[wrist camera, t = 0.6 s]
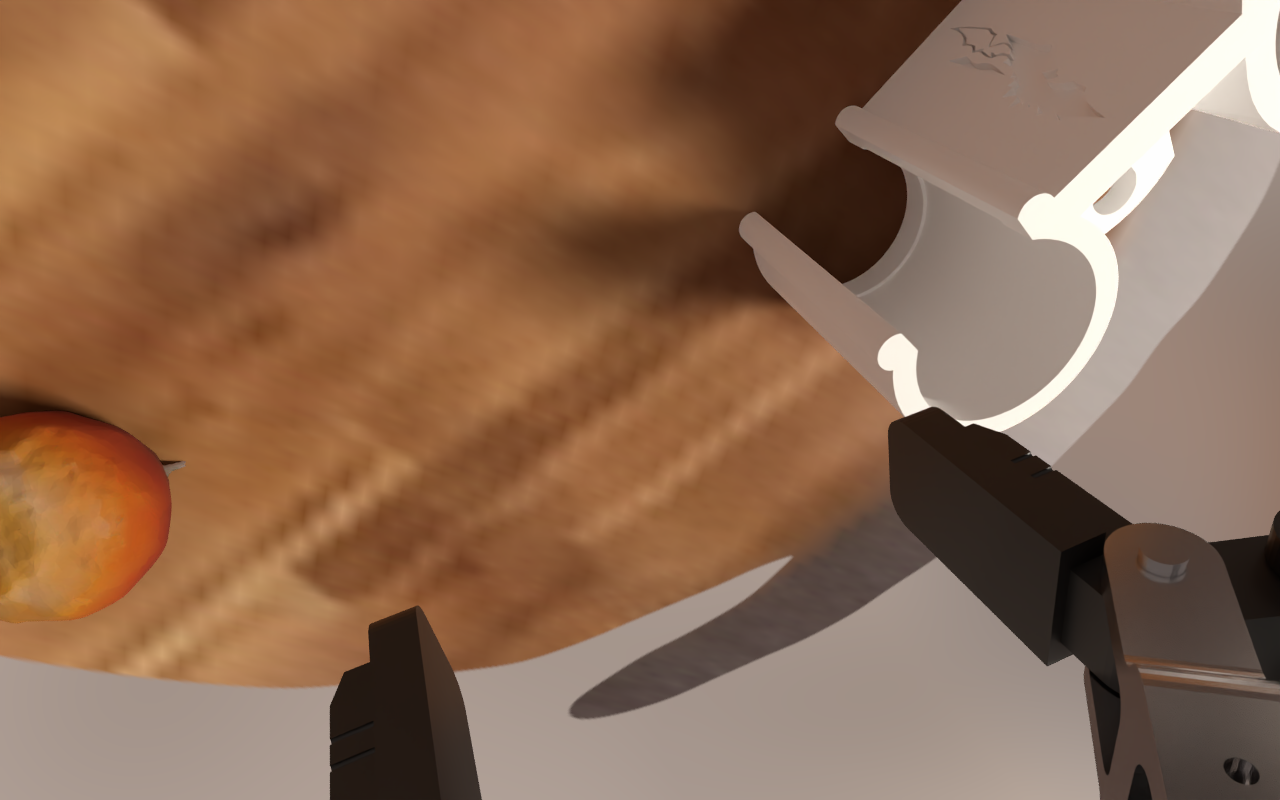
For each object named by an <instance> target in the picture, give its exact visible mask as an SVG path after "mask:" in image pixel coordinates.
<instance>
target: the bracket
mask: <svg viewBox="0 0 1280 800" xmlns="http://www.w3.org/2000/svg"><path fill="white" fill-rule="evenodd" d="M1191 109H1193V110H1197V111H1200V112H1204V113H1208V114H1211V115H1215V116H1218V117H1222V118H1226V119H1229V120H1233V121H1236V122H1240V123H1243V124H1247V125H1251V126H1254V127H1258V128H1261V129H1265V130H1269V131H1272V132H1276V133H1279V134H1280V0H962V1H961V2H960V3H959V4H958V5H957V6H956V7H955V8H954V9H953V10H952V11H951V12H950V14H949V15H948V16H947V17H946V18H945V19H944V20H943V21H942V22H941V23H940V24H939V25H938V27H937V28H936V29H935V30H934V31H933V32H932V33H931V34H930V35H929V36H928V37H927V39H926V40H925V41H924V42H923V43H922V44H921V45H920V46H919V47H918V48H917V49H916V50H915V52H914V53H913V54H912V55H911V56H910V57H909V58H908V59H907V60H906V61H905V62H904V63H903V65H902V66H901V67H900V68H899V69H898V70H897V71H896V72H895V73H894V74H893V75H892V76H891V78H890V79H889V80H888V81H887V82H886V83H885V84H884V85H883V86H882V87H881V88H880V90H879V91H878V92H877V93H876V94H875V95H874V96H873V97H872V98H871V99H870V100H869V101H868V103H867V104H866V105H865V106H864V107H863V108H860V107H858V106H848V107H846V108H844V109H843V110H842V111H841V112H840V113H839V115H838V116H837V119H836V122H835V125H836V127H837V128H838V129H839V130H840V131H841V133H842V134H843V135H844V136H845V137H846V139H847V140H848V141H849V142H851V143H853V144H854V145H856V146H858V147H860V148H862V149H864V150H867V149H868V150H869V151H871V152H873V153H875V154H877V155H879V156H881V157H883V158H884V159H886V160H888V161H890V162H892V163H894V164H896V165H898V166H900V167H901V169H902V171H903V174H904V177H905V180H906V186H907V205H906V211H905V216H904V219H903V222H902V225H901V228H900V230H899V232H898V234H897V236H896V238H895V240H894V242H893V243H892V245H891V246H890V248H889V249H888V250H887V252H886V253H885V254H884V255H883V257H882V258H881V259H880V260H879V261H878V262H877V263H876V264H875V265H874V266H872V267H871V268H870V269H869V270H867V271H866V272H865V273H863V274H862V275H860V276H858V277H857V278H855V279H853V280H851V281H849V282H846V283H844V284H841V283H840V282H839V281H838V280H837V279H836V278H834V277H833V276H832V275H831V274H830V273H828V272H827V271H826V270H825V269H824V268H822V267H821V266H820V265H819V264H818V263H816V262H815V261H814V260H813V259H812V258H810V257H809V256H808V255H807V254H806V253H804V252H803V251H802V250H801V249H800V248H798V247H797V246H796V245H795V244H794V243H792V242H791V241H790V240H789V239H788V238H786V237H785V236H784V235H783V234H782V233H780V232H779V231H778V230H777V229H776V228H774V227H773V226H772V225H771V224H770V223H768V222H767V221H766V220H765V219H764V218H762V217H761V216H760V215H759V214H758V213H756V212H751V213H749V214H747V215H746V216H745V217H744V218H743V219H742V221H741V223H740V226H739V233H740V236H741V237H742V238H743V239H744V240H745V241H746V242H747V243H748V244H749V245H750V246H751V247H752V248H753V250H754V256H755V259H756V262H757V265H758V267H759V270H760V272H761V273H762V275H763V277H764V278H765V279H766V281H767V282H768V283H769V284H770V285H771V286H772V288H773V289H774V290H776V291H777V292H778V293H779V294H780V295H781V296H782V297H783V298H784V299H785V300H786V301H787V302H788V303H789V304H790V305H791V306H792V307H793V308H794V309H795V310H796V311H797V312H798V313H799V314H800V315H801V316H802V317H803V318H804V319H805V320H806V321H807V322H808V323H809V324H810V325H811V326H812V327H813V328H814V329H815V330H816V331H817V332H818V333H819V334H820V335H821V336H822V337H823V338H824V339H825V340H826V341H827V342H828V343H830V344H831V345H832V346H833V347H834V348H835V349H836V350H837V351H838V352H839V353H840V354H841V355H842V356H843V357H844V358H845V359H846V360H847V361H848V362H849V363H850V364H851V365H852V366H853V367H854V368H855V369H856V370H857V371H858V372H859V373H860V374H861V375H862V376H863V377H864V378H865V379H866V380H867V381H868V382H869V383H870V384H871V385H872V386H873V387H874V388H875V389H876V390H877V391H878V392H879V393H880V394H881V395H882V396H883V397H885V398H886V399H887V400H888V401H889V402H890V403H891V404H892V405H893V406H894V407H895V408H896V409H897V410H898V411H899V412H900V413H901V414H902V415H903V416H904V417H906V416H909V415H911V414H914V413H916V412H919V411H922V410H924V409H927V408H929V407H938V408H940V409H941V410H943V411H944V412H946V413H947V414H948V415H950V416H951V417H953V418H954V419H955V420H957V421H958V422H959V423H961V424H962V425H963V426H968V425H970V424H973V423H974V424H977V425H980V426H983V427H986V428H989V429H992V430H995V431H998V432H1001V431H1003V430H1005V429H1008V428H1010V427H1012V426H1014V425H1016V424H1018V423H1020V422H1021V421H1023V420H1025V419H1027V418H1028V417H1030V416H1031V415H1033V414H1034V413H1036V412H1037V411H1039V410H1040V409H1041V408H1043V407H1044V406H1045V405H1047V404H1048V403H1049V402H1050V401H1052V400H1053V399H1054V398H1055V397H1056V396H1057V395H1058V394H1060V393H1061V392H1062V391H1063V390H1064V389H1065V388H1066V387H1067V386H1068V385H1069V384H1070V382H1071V381H1072V380H1073V379H1074V378H1075V377H1076V376H1077V375H1078V373H1079V372H1080V371H1081V370H1082V369H1083V367H1084V366H1085V364H1086V363H1087V362H1088V360H1089V359H1090V357H1091V356H1092V354H1093V353H1094V351H1095V350H1096V348H1097V346H1098V344H1099V343H1100V341H1101V339H1102V337H1103V335H1104V333H1105V331H1106V329H1107V326H1108V324H1109V321H1110V319H1111V316H1112V313H1113V310H1114V306H1115V302H1116V297H1117V290H1118V265H1117V260H1116V256H1115V253H1114V250H1113V247H1112V245H1111V243H1110V241H1109V240H1108V238H1107V237H1106V235H1105V233H1107V232H1108V231H1109V230H1110V229H1112V228H1113V227H1114V226H1115V225H1117V224H1118V223H1119V222H1120V221H1121V220H1122V219H1124V218H1125V217H1126V216H1127V215H1128V214H1129V213H1130V212H1131V211H1132V210H1133V209H1134V208H1135V207H1136V206H1137V205H1138V204H1139V203H1140V202H1141V201H1142V200H1143V198H1144V197H1145V196H1146V195H1147V194H1148V193H1149V192H1150V190H1151V189H1152V188H1153V186H1154V185H1155V184H1156V183H1157V181H1158V180H1159V179H1160V177H1161V176H1162V174H1163V173H1164V171H1165V170H1166V169H1167V167H1168V165H1169V164H1170V162H1171V161H1172V159H1173V157H1174V156H1175V155H1174V151H1173V147H1172V142H1171V138H1170V133H1169V130H1170V129H1171V128H1172V127H1173V126H1174V125H1175V124H1176V123H1177V122H1178V121H1180V120H1181V119H1182V118H1183V117H1184V116H1185V115H1186V114H1187V113H1188V112H1189V111H1190V110H1191ZM1111 186H1112V187H1111ZM1110 187H1111V189H1110V190H1109V192H1108V193H1107V194H1106V195H1105V196H1104V197H1103V198H1102V199H1101V200H1100V201H1098V202H1097V203H1095V204H1093V203H1094V202H1095V201H1096V200H1097V199H1098V198H1099V197H1100V196H1102V195H1103V194H1104V193H1105V192H1106V191H1107V190H1108V189H1109V188H1110Z"/></svg>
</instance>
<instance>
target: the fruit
mask: <svg viewBox="0 0 1280 800" xmlns="http://www.w3.org/2000/svg"><path fill="white" fill-rule="evenodd" d="M184 464H185V461H181V462H178V463H173V464H167V465H162V463H161V462H160V460H159V458H158V457H157V455H156V454H155V453H154V452H153V451H152V450H150V449H149V448H148V447H147V446H145V445H144V444H143V443H141V442H140V441H139V440H138V439H136V438H135V437H134V436H132V435H131V434H129V433H128V432H126V431H124V430H122V429H120V428H118V427H116V426H114V425H111V424H108V423H104V422H101V421H98V420H94V419H90V418H86V417H83V416H80V415H77V414H74V413H71V412H66V411H40V412H26V413H19V414H15V415H11V416H5V417H0V620H1V621H5V622H9V623H21V622H26V621H62V620H74V619H79V618H83V617H86V616H88V615H90V614H93V613H95V612H97V611H99V610H101V609H103V608H105V607H107V606H109V605H111V604H113V603H115V602H116V601H118V600H119V599H121V598H122V597H124V596H125V595H126V594H127V593H128V592H129V591H130V590H131V589H132V588H133V587H134V586H135V584H136V583H137V582H138V581H139V580H140V579H141V578H142V577H143V576H144V575H145V574H146V572H147V571H148V570H149V569H150V568H151V567H152V566H153V564H154V563H155V562H156V560H157V559H158V558H159V556H160V555H161V553H162V552H163V550H164V548H165V546H166V543H167V539H168V534H169V527H170V519H171V495H170V488H169V480H168V476H169V474H170V473H171V472H172V471H174V470H176V469H179V468H182V467H185V466H186V465H184Z"/></svg>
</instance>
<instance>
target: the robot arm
mask: <svg viewBox="0 0 1280 800" xmlns="http://www.w3.org/2000/svg"><path fill="white" fill-rule="evenodd" d="M888 444H889V471H890V493H891V498H892V502H893V505H894V507H895V510H896V512H897V514H898V516H899V517H900V519H901V520H902V522H903V523H904V525H905V526H906V527H907V528H908V529H909V530H910V531H911V532H912V533H913V534H914V535H915V536H916V537H917V538H918V539H919V540H920V541H921V542H922V543H923V544H924V545H925V546H926V547H927V548H928V549H929V550H930V551H931V552H932V553H933V554H934V555H935V556H936V557H937V558H938V559H939V560H940V561H941V562H942V563H943V564H944V565H945V566H946V567H947V568H948V569H950V570H951V572H952V573H953V574H955V576H957V578H958V579H960V581H962V582H963V583H964V584H965V585H966V586H967V587H968V588H969V589H970V590H971V591H972V592H973V593H974V594H975V595H976V596H977V597H978V598H979V599H980V600H981V601H982V602H983V603H984V604H985V605H986V606H987V607H988V608H989V609H990V610H991V611H992V612H993V613H994V614H995V615H996V616H997V617H998V618H999V619H1000V620H1001V621H1002V622H1003V623H1004V624H1005V625H1006V626H1007V627H1008V628H1009V629H1010V630H1011V631H1012V632H1013V633H1014V634H1015V635H1016V636H1017V637H1018V638H1019V639H1020V640H1021V641H1022V642H1023V643H1024V644H1025V645H1026V646H1027V647H1028V648H1029V649H1030V650H1031V651H1032V652H1033V653H1034V654H1035V655H1036V656H1037V657H1038V658H1039V659H1040V660H1041V661H1042V662H1043V663H1044V664H1045V665H1046V666H1049V665H1051V664H1054V663H1056V662H1058V661H1060V660H1062V659H1064V658H1066V657H1068V656H1071V655H1073V654H1074V655H1075V656H1076V657H1077V658H1078V659H1079V660H1080V661H1081V662H1082V663H1083V664H1084V665H1085V669H1084V686H1085V692H1086V700H1087V706H1088V713H1089V720H1090V727H1091V734H1092V741H1093V747H1094V755H1095V761H1096V769H1097V776H1098V782H1099V791H1100V800H1280V511H1279V512H1278V513H1277V514H1276V516H1275V518H1274V521H1273V524H1272V528H1271V531H1270V534H1269V535H1265V536H1257V537H1250V538H1242V539H1235V540H1227V541H1218V542H1207V541H1205V540H1204V539H1202V538H1201V537H1199V536H1197V535H1195V534H1193V533H1191V532H1189V531H1186V530H1184V529H1181V528H1178V527H1175V526H1170V525H1166V524H1159V523H1158V524H1157V523H1137V524H1132V523H1130V522H1129V521H1127V520H1126V519H1125V518H1123V517H1122V516H1120V515H1119V514H1117V513H1116V512H1115V511H1113V510H1112V509H1110V508H1109V507H1108V506H1106V505H1105V504H1103V503H1102V502H1101V501H1099V500H1098V499H1096V498H1095V497H1094V496H1092V495H1091V494H1089V493H1088V492H1086V491H1085V490H1084V489H1082V488H1081V487H1079V486H1078V485H1077V484H1075V483H1074V482H1072V481H1071V480H1070V479H1068V478H1067V477H1065V476H1064V475H1063V474H1061V473H1060V472H1058V471H1057V470H1055V471H1053V470H1052V468H1051V466H1050V465H1048V464H1047V463H1046V462H1044V461H1043V460H1041V459H1040V458H1039V457H1037V456H1032V455H1031V452H1030V451H1029V450H1027V449H1026V448H1024V447H1023V446H1022V445H1020V444H1019V443H1017V442H1016V441H1015V440H1013V439H1012V438H1010V437H1009V436H1008V435H1006V434H1003V433H1000V432H998V431H995V430H992V429H989V428H986V427H983V426H980V425H977V424H974V423H973V424H970V425H968V426H963V425H962V424H961V423H959V422H958V421H957V420H955V419H954V418H953V417H951V416H950V415H948V414H947V413H946V412H944V411H943V410H941V409H940V408H938V407H929V408H927V409H924V410H922V411H919V412H916V413H914V414H911V415H909V416H906V417H904V418H901V419H899V420H896V421H894V422H892V423H891V424H890V426H889V430H888ZM368 635H369V652H370V662H369V663H366V664H364V665H361V666H359V667H356V668H354V669H351V670H349V671H346V672H344V674H343V676H342V679H341V681H340V684H339V686H338V688H337V691H336V693H335V696H334V698H333V700H332V702H331V705H330V740H331V743H332V745H330V766H331V770H332V772H330V800H482V799H481V793H480V787H479V782H478V776H477V771H476V765H475V760H474V754H473V749H472V743H471V737H470V732H469V727H468V722H467V715H466V710H465V705H464V701H463V698H462V694H461V691H460V688H459V685H458V682H457V680H456V677H455V674H454V672H453V670H452V668H451V666H450V664H449V662H448V660H447V658H446V656H445V654H444V652H443V650H442V648H441V646H440V644H439V642H438V640H437V638H436V636H435V634H434V632H433V630H432V628H431V626H430V624H429V622H428V620H427V618H426V616H425V614H424V612H423V611H422V609H421V608H420V607H419V606H415V607H412V608H410V609H407V610H405V611H402V612H400V613H397V614H394V615H392V616H389V617H387V618H384V619H382V620H379V621H377V622H374V623H371V624H370V625H369V630H368Z"/></svg>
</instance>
